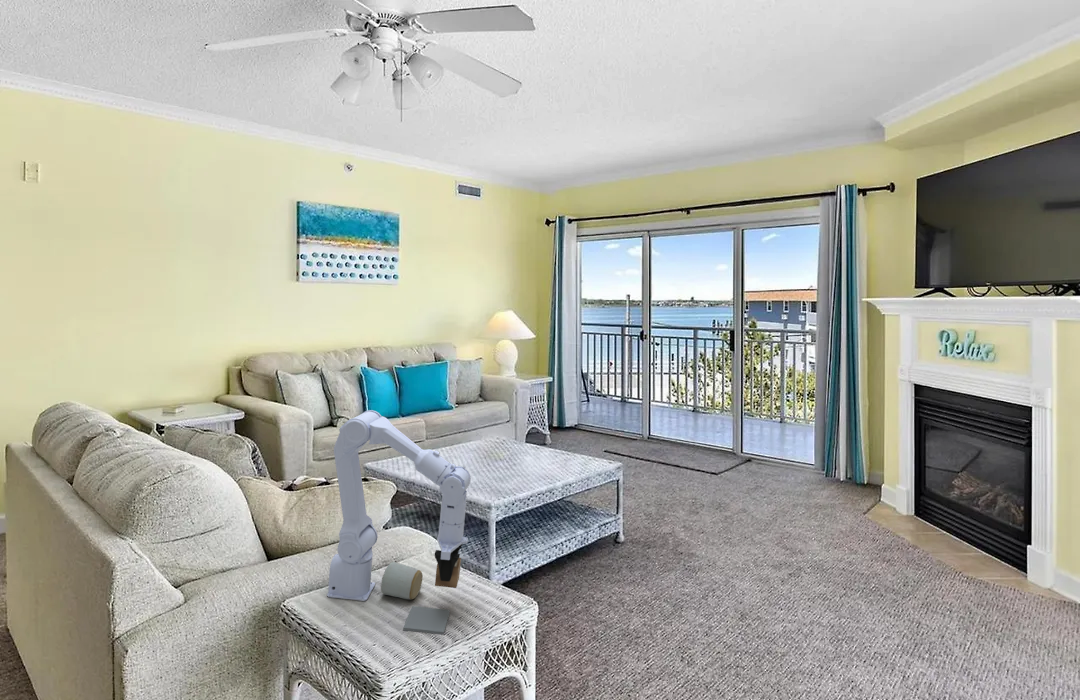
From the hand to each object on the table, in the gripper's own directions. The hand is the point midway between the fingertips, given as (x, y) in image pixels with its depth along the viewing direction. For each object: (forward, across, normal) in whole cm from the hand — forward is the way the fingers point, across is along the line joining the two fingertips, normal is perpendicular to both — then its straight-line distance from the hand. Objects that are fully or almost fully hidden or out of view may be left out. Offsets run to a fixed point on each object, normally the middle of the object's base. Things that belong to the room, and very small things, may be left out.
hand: (447, 574), depth 148 cm
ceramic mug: (+9, +5, +11) cm, 15 cm away
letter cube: (+2, 0, 0) cm, 2 cm away
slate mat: (+8, -6, +3) cm, 11 cm away
